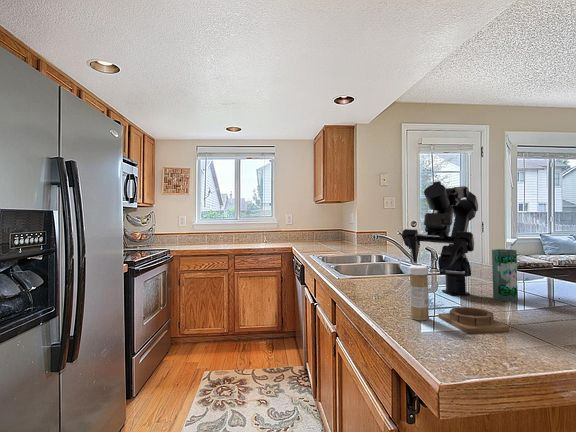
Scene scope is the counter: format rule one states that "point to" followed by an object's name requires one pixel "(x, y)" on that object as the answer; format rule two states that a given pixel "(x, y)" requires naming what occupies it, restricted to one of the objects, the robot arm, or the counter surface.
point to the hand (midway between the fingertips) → (431, 263)
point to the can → (504, 275)
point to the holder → (473, 320)
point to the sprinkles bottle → (419, 292)
